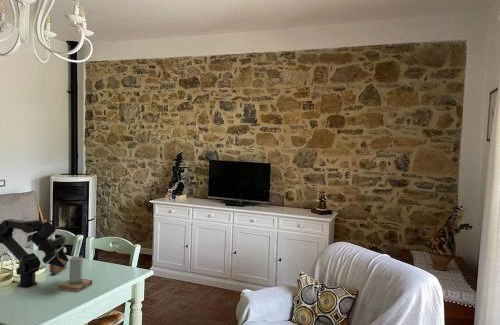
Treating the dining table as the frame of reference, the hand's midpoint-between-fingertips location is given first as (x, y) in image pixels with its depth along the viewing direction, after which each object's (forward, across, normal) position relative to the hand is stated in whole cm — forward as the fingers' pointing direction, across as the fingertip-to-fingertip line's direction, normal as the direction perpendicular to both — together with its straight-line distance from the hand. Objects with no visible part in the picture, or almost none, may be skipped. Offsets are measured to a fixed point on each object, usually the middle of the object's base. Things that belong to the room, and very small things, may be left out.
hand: (66, 263), depth 193 cm
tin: (+2, +24, +15) cm, 28 cm away
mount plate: (+12, 0, +5) cm, 13 cm away
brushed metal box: (+10, 0, +3) cm, 11 cm away
